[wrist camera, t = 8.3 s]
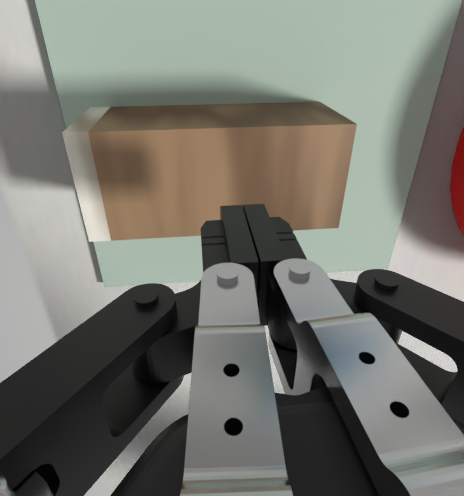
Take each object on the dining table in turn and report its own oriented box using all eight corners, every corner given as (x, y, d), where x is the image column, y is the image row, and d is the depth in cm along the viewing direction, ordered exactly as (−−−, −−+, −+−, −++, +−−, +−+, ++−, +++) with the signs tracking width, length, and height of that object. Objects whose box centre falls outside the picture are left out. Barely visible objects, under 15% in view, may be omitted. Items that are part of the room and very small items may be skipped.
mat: (469, -51, 17) (477, -53, 16) (384, 264, 26) (387, 268, 26) (25, -58, 15) (20, -60, 15) (105, 282, 25) (104, 287, 24)
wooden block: (357, 124, 15) (61, 132, 14) (338, 227, 18) (89, 241, 17) (320, 101, 19) (90, 107, 18) (309, 188, 22) (108, 197, 21)
